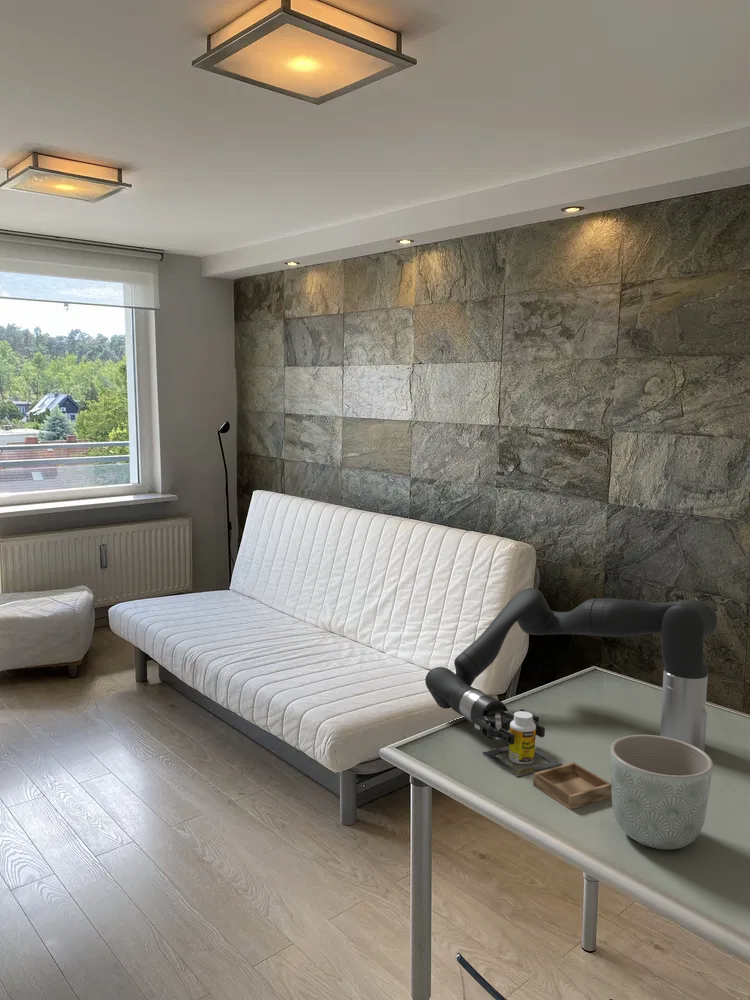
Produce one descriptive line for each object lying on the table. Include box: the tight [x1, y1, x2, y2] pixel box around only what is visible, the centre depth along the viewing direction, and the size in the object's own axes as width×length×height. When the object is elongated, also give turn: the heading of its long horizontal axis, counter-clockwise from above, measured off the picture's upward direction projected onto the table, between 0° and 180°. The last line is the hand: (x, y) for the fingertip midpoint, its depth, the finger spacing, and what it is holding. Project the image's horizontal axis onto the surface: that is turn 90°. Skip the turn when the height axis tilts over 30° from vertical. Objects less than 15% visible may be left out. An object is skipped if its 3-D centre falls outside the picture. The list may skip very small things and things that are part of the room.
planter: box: [610, 734, 714, 851], centre depth 136 cm, size 17×17×15 cm
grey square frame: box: [482, 745, 563, 778], centre depth 166 cm, size 12×12×1 cm
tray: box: [532, 762, 612, 810], centre depth 152 cm, size 11×11×3 cm
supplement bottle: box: [508, 710, 537, 765], centre depth 165 cm, size 6×6×10 cm
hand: (528, 736), depth 163 cm, fingers open, 8 cm apart
